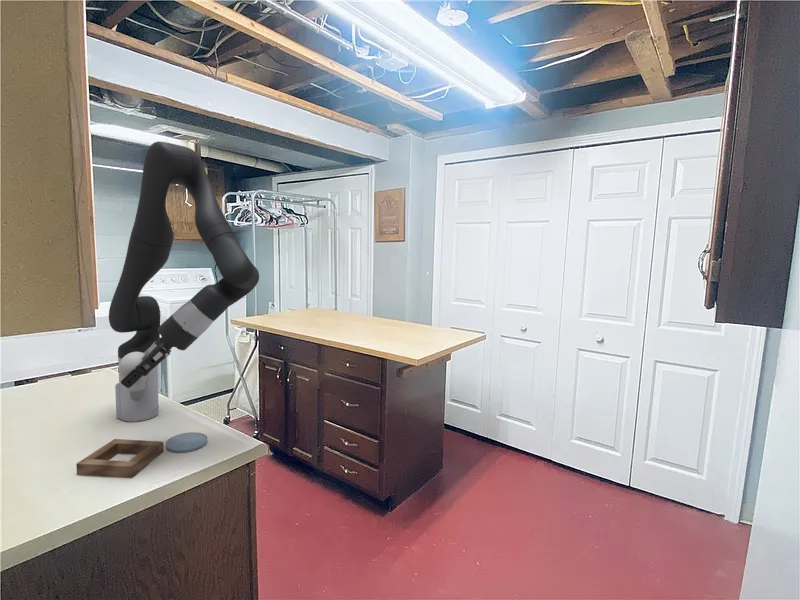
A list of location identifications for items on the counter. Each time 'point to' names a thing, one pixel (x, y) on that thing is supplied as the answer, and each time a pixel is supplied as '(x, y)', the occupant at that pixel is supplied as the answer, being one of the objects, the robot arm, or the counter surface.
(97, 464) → the frame
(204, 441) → the pad
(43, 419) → the counter surface
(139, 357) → the lightbulb
